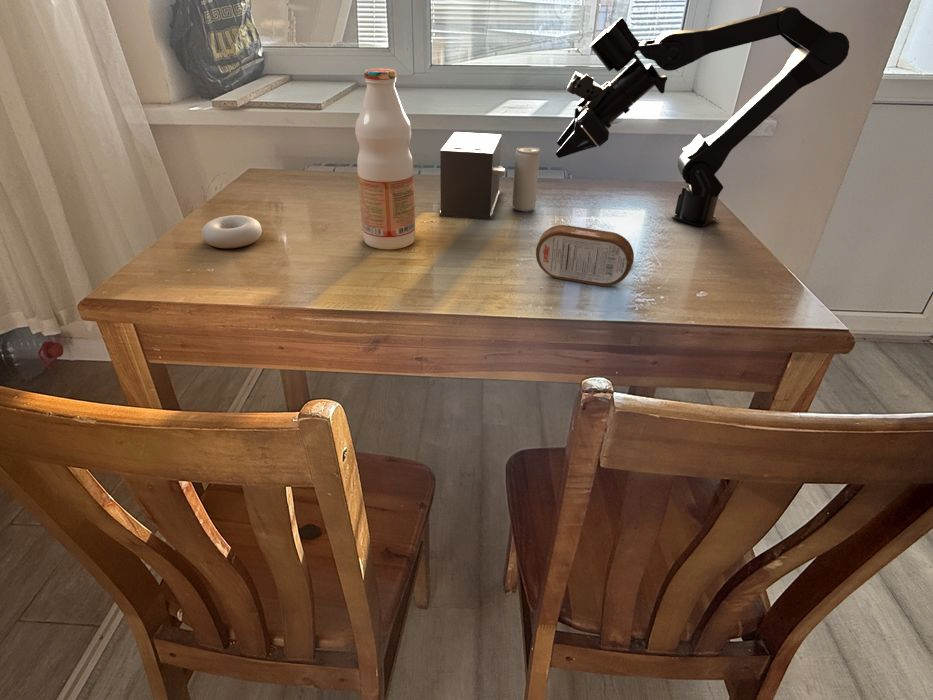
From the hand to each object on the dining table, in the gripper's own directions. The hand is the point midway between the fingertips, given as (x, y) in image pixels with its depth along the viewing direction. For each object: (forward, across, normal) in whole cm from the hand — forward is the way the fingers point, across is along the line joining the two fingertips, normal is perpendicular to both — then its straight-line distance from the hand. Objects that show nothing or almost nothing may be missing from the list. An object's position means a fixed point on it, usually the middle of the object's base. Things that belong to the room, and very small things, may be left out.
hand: (557, 150), depth 114 cm
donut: (+48, +28, -31) cm, 64 cm away
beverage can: (+13, 0, +5) cm, 14 cm away
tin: (+5, +33, +13) cm, 35 cm away
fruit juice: (+29, +23, -12) cm, 38 cm away
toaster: (+21, 0, -4) cm, 21 cm away
